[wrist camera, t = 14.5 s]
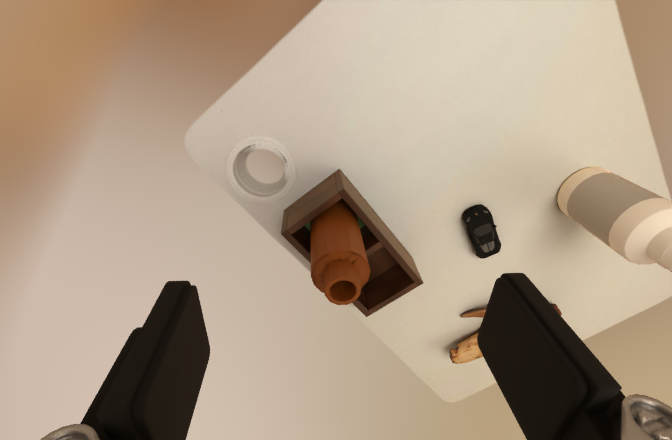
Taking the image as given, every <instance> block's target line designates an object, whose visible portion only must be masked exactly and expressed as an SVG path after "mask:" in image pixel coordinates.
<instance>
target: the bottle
mask: <svg viewBox="0 0 672 440" xmlns="http://www.w3.org/2000/svg"><path fill="white" fill-rule="evenodd" d="M310 241H311V278H312V281H313V283H314V285H315V286H316V287H317V288H318V289H319V290H320V291H321V292H323V293H325V296H326V297H327V298H328V300H329V301H330V302H332V303H335V304H337V305H347V304H349V303H352V302H354V301H355V300H356V299H357V298H358V297H359V296H360V294H361V288H362V287H363V286H364V285H365V284H366V282H367V281H368V279H369V275H370V268H369V264H368V260H367V256H366V252H365V248H364V244H363V240H362V236H361V232H360V228H359V224H358V220H357V216H356V213H355V212H354V211H353V210H352V209H351V208H350V206H349V205H348V204H347V203H346V202H345V201H344V199H340V200H339V201H338V202H336V203H335V204H333V205H332V206H331V207H329V208H328V209H326V210H325V211H324V212H322V213H321V214H319V215H318V216H317V217H315V218H314V219H312V220H311V221H310Z"/></svg>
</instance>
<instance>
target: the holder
mask: <svg viewBox="0 0 672 440" xmlns="http://www.w3.org/2000/svg"><path fill="white" fill-rule="evenodd" d="M340 199H344V201H345V202H346V203H347V204H348V205H349V206H350V208H351V209H352V210H353V211H354V212H355V213H356V216H357V220H358V224H359V228H360V232H361V236H362V240H363V244H364V248H365V252H366V256H367V260H368V264H369V268H370V275H369V279H368V281H367V282H366V284H365V285H364V286H363V287H362V288H361V294H360V296H359V297H358V298H357V299H356V300H355V301H354V302H352V303H353V304H354V305H355V306H356V307H357V308H358V309H359V310H360V311H361V312H362V313H363V314H364V315H365V316H366V317H367V316H369V315H371V314H372V313H374V312H376V311H377V310H379V309H381V308H383V307H384V306H386V305H388V304H389V303H391V302H393V301H394V300H396V299H398V298H399V297H401V296H403V295H404V294H406V293H408V292H409V291H411V290H413V289H414V288H416V287H418V286H419V285H421V284H423V281H422V279H421V276H420V274H419V272H418V270H417V267H416V265H415V263H414V260H413V258H412V256H411V255H410V254H409V253H408V251H407V250H406V249H405V248H404V246H403V245H402V244H401V243H400V242H399V240H398V239H397V238H396V237H395V236H394V234H393V233H392V232H391V231H390V229H389V228H388V227H387V226H386V225H385V223H384V222H383V221H382V220H381V218H380V217H379V216H378V215H377V214H376V212H375V211H374V210H373V209H372V208H371V206H370V205H369V204H368V203H367V201H366V200H365V199H364V198H363V197H362V195H361V194H360V193H359V192H358V190H357V189H356V188H355V187H354V186H353V184H352V183H351V182H350V181H349V180H348V178H347V177H346V176H345V175H344V173H343V172H342V171H341V170H340V169H339V170H337V171H336V172H335V173H333V174H332V175H331V176H329V177H328V178H327V179H325V180H324V181H323V182H321V183H320V184H319V185H317V186H316V187H315V188H313V189H312V190H311V191H309V192H308V193H307V194H305V195H304V196H303V197H301V198H300V199H299V200H297V201H296V202H294V203H293V204H292V205H290V206H289V207H288V208H286V209H285V210H284V216H283V224H282V232H281V235H282V236H284V237H285V238H286V239H287V240H288V241H289V242H290V243H291V244H292V245H293V246H294V247H295V248H296V249H297V250H298V251H299V252H300V253H301V254H302V255H303V256H304V257H305V258H306V259H307V260H308V261H309V262H310V263H311V241H310V221H311V220H312V219H314V218H315V217H317V216H318V215H319V214H321V213H322V212H324V211H325V210H326V209H328V208H329V207H331V206H332V205H333V204H335V203H336V202H338V201H339V200H340Z"/></svg>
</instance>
